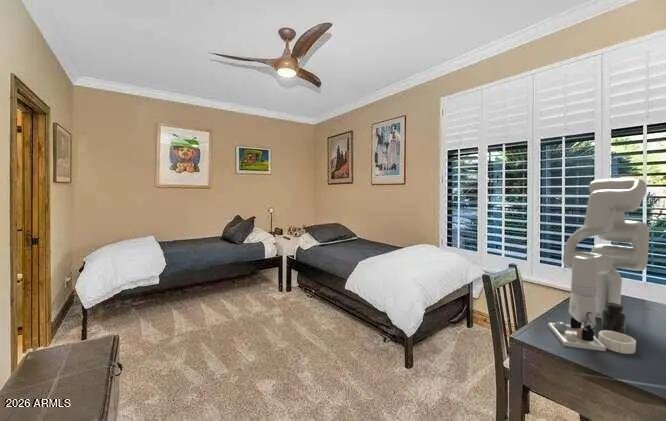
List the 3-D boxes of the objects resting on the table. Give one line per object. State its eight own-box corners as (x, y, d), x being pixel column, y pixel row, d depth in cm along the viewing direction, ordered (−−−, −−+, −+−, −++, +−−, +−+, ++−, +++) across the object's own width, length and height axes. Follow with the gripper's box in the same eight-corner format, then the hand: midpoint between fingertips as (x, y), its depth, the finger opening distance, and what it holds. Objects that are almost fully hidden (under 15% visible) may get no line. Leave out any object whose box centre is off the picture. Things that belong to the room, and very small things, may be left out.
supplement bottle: (627, 341, 112) (629, 309, 111) (602, 336, 116) (604, 305, 115) (622, 333, 118) (624, 303, 117) (598, 329, 122) (600, 300, 121)
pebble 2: (563, 339, 113) (564, 330, 112) (574, 341, 112) (575, 332, 111) (567, 344, 110) (567, 335, 109) (578, 345, 108) (579, 336, 108)
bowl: (593, 339, 114) (593, 328, 114) (625, 343, 111) (625, 332, 111) (606, 352, 105) (607, 341, 105) (642, 357, 102) (642, 345, 102)
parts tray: (548, 327, 124) (548, 322, 124) (584, 331, 120) (584, 326, 120) (564, 347, 109) (564, 341, 108) (605, 352, 105) (605, 347, 105)
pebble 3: (580, 340, 112) (580, 330, 112) (575, 335, 116) (576, 326, 115) (591, 341, 111) (592, 332, 111) (587, 337, 114) (587, 327, 114)
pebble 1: (554, 329, 121) (554, 320, 121) (564, 330, 120) (565, 321, 120) (557, 333, 118) (557, 324, 117) (568, 334, 117) (569, 325, 116)
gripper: (562, 281, 121) (560, 323, 123) (582, 296, 105) (579, 344, 106) (585, 283, 119) (582, 325, 120) (609, 298, 103) (605, 347, 104)
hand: (581, 334), depth 113 cm, fingers open, 9 cm apart
